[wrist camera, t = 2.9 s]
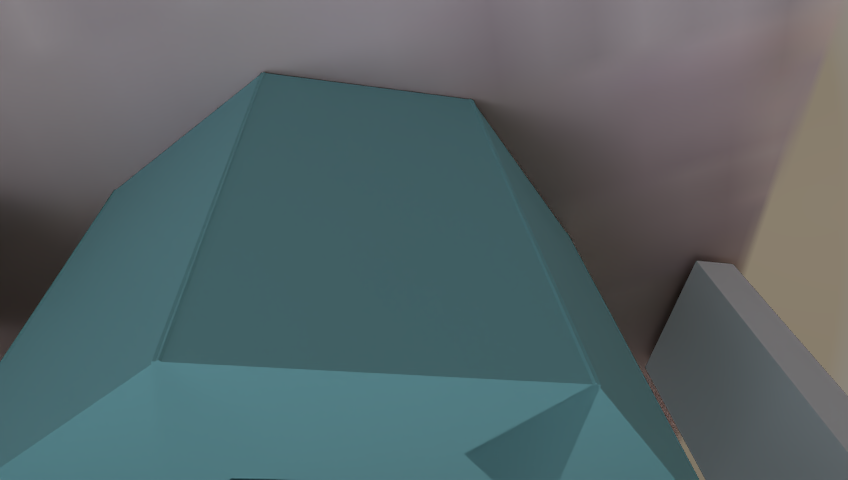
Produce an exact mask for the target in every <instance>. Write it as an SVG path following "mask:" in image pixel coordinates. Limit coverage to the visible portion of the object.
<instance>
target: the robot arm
mask: <svg viewBox="0 0 848 480" xmlns="http://www.w3.org/2000/svg"><path fill="white" fill-rule="evenodd" d="M645 368H646V370H647V372H648V374H649V376H650V378H651V379H652V381H653V383H654V385H655V387H656V389H657V391H658V392H659V394H660V396H661V398H662V400H663V402H664V404H665V405H666V407H667V409H668V411H669V413H670V415H671V417H672V418H673V420H674V422H675V424H676V426H677V428H678V430H679V431H680V433H681V435H682V437H683V439H684V441H685V442H686V444H687V446H688V448H689V450H690V452H691V454H692V455H693V457H694V459H695V461H696V463H697V465H698V467H699V468H700V470H701V472H702V474H703V476H704V477H705V479H706V480H848V396H847V395H846V394H845V392H844V391H843V390H842V389H841V388H840V387H839V386H838V384H837V383H836V382H835V381H834V380H833V379H832V378H831V376H830V375H829V374H828V373H827V372H826V371H825V369H824V368H823V367H822V366H821V365H820V364H819V363H818V361H817V360H816V359H815V358H814V357H813V356H812V354H811V353H810V352H809V351H808V350H807V349H806V347H805V346H804V345H803V344H802V343H801V342H800V341H799V339H798V338H797V337H796V336H795V335H794V334H793V333H792V331H791V330H790V329H789V328H788V327H787V326H786V324H785V323H784V322H783V321H782V320H781V319H780V318H779V317H778V315H777V314H776V313H775V312H774V311H773V309H771V307H770V306H769V305H768V304H767V303H766V301H765V300H764V299H763V298H762V297H761V296H760V295H759V293H758V292H757V291H756V290H755V289H754V288H753V286H752V285H751V284H750V283H749V282H748V281H747V280H746V278H745V277H744V276H743V275H742V274H741V273H740V271H739V270H738V269H737V268H736V267H735V266H734V265H733V264H727V263H716V262H705V261H696V262H695V264H694V267H693V269H692V271H691V273H690V275H689V277H688V279H687V281H686V283H685V285H684V287H683V290H682V292H681V294H680V296H679V298H678V300H677V302H676V304H675V306H674V308H673V310H672V312H671V315H670V317H669V319H668V321H667V323H666V325H665V327H664V329H663V331H662V333H661V335H660V337H659V340H658V342H657V344H656V346H655V348H654V350H653V352H652V354H651V356H650V358H649V360H648V363H647V365H646V367H645Z"/></svg>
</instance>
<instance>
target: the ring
mask: <svg viewBox="0 0 848 480" xmlns="http://www.w3.org/2000/svg"><path fill="white" fill-rule="evenodd" d="M0 480H699V478H698V477H697V474H696V473H695V471H694V469H693V467H692V465H691V463H690V461H689V459H688V458H687V456H686V454H685V452H684V450H683V448H682V446H681V444H680V443H679V441H678V439H677V437H676V435H675V433H674V431H673V430H672V428H671V426H670V424H669V422H668V420H667V418H666V416H665V415H664V413H663V411H662V409H661V407H660V405H659V403H658V401H657V400H656V398H655V396H654V394H653V392H652V390H651V388H650V386H649V385H648V383H647V381H646V379H645V377H644V375H643V373H642V372H641V370H640V368H639V366H638V364H637V362H636V360H635V358H634V357H633V355H632V353H631V351H630V349H629V347H628V345H627V343H626V342H625V340H624V338H623V336H622V334H621V332H620V330H619V328H618V327H617V325H616V323H615V321H614V319H613V317H612V315H611V313H610V312H609V310H608V308H607V306H606V304H605V302H604V300H603V299H602V297H601V295H600V293H599V291H598V289H597V287H596V285H595V284H594V282H593V280H592V278H591V276H590V274H589V272H588V270H587V269H586V267H585V265H584V263H583V261H582V259H581V257H580V255H579V254H578V252H577V250H576V248H575V246H574V244H573V242H572V240H571V239H570V237H569V235H568V233H567V232H565V230H564V229H563V228H562V226H561V225H560V223H559V222H558V221H557V219H556V218H555V216H554V215H553V214H552V212H551V211H550V209H549V208H548V206H547V205H546V204H545V202H544V201H543V199H542V198H541V197H540V195H539V194H538V192H537V191H536V190H535V188H534V187H533V185H532V184H531V183H530V181H529V180H528V178H527V177H526V176H525V174H524V173H523V171H522V170H521V168H520V167H519V166H518V164H517V163H516V161H515V160H514V159H513V157H512V156H511V154H510V153H509V152H508V150H507V149H506V147H505V146H504V145H503V143H502V142H501V140H500V139H499V138H498V136H497V135H496V133H495V132H494V130H493V129H492V128H491V126H490V125H489V123H488V122H487V121H486V119H485V118H484V116H483V115H482V114H481V112H480V111H479V109H478V108H477V107H476V105H475V103H474V101H473V100H471V99H463V98H455V97H447V96H439V95H431V94H424V93H416V92H408V91H400V90H393V89H385V88H377V87H369V86H362V85H354V84H346V83H338V82H331V81H323V80H315V79H307V78H300V77H292V76H284V75H276V74H269V73H265V72H263V73H261V74H260V75H259V76H258V77H257V78H255V79H254V80H253V81H252V82H250V83H249V84H248V85H247V86H245V87H244V88H243V89H242V90H240V91H239V92H238V93H237V94H235V95H234V96H233V97H232V98H230V99H229V100H228V101H227V102H225V103H224V104H223V105H222V106H220V107H219V108H218V109H217V110H215V111H214V112H213V113H212V114H210V115H209V116H208V117H207V118H205V119H204V120H203V121H202V122H200V123H199V124H198V125H197V126H195V127H194V128H193V129H192V130H190V131H189V132H188V133H187V134H185V135H184V136H183V137H182V138H180V139H179V140H178V141H177V142H175V143H174V144H173V145H172V146H170V147H169V148H168V149H167V150H165V151H164V152H163V153H162V154H160V155H159V156H158V157H157V158H155V159H154V160H153V161H152V162H150V163H149V164H148V165H147V166H145V167H144V168H143V169H142V170H140V171H139V172H138V173H137V174H135V175H134V176H133V177H132V178H130V179H129V180H128V181H127V182H125V183H124V184H123V185H122V186H120V187H119V188H118V189H117V190H114V191H113V193H112V194H111V196H110V197H109V199H108V200H107V202H106V203H105V205H104V206H103V208H102V209H101V211H100V212H99V214H98V215H97V217H96V218H95V220H94V221H93V223H92V224H91V226H90V227H89V229H88V230H87V232H86V233H85V235H84V236H83V238H82V239H81V241H80V242H79V244H78V245H77V247H76V248H75V250H74V251H73V253H72V254H71V256H70V257H69V259H68V260H67V262H66V264H65V265H64V267H63V268H62V270H61V271H60V273H59V274H58V276H57V277H56V279H55V280H54V282H53V283H52V285H51V286H50V288H49V289H48V291H47V292H46V294H45V295H44V297H43V298H42V300H41V301H40V303H39V304H38V306H37V307H36V309H35V310H34V312H33V313H32V315H31V316H30V318H29V319H28V321H27V322H26V324H25V325H24V327H23V328H22V330H21V331H20V333H19V334H18V336H17V337H16V339H15V340H14V342H13V343H12V345H11V346H10V348H9V349H8V351H7V352H6V354H5V355H4V357H3V358H2V360H1V361H0Z"/></svg>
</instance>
